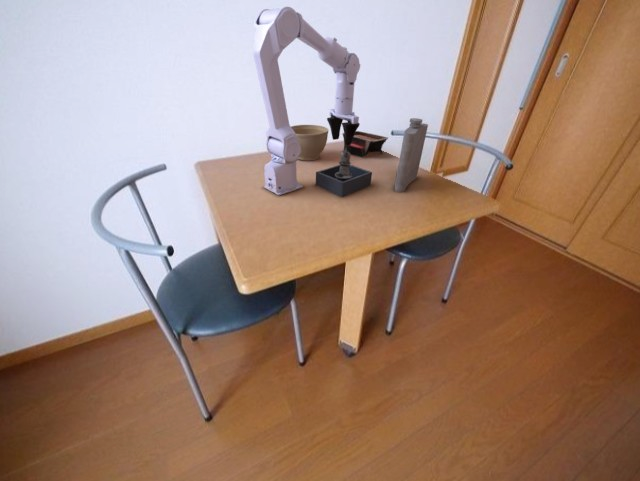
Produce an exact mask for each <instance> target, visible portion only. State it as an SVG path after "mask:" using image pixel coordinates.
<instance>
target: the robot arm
mask: <svg viewBox="0 0 640 481" xmlns="http://www.w3.org/2000/svg"><path fill="white" fill-rule="evenodd" d="M253 26H254V27H253V28H254V31H255V32H254V33H255V34H254V40H253V48H252V55H253V59H254V60H253V61H254V63H255V64H254V65H255V68H256V73H257V76H258V80H259V81H258V82H259V86H260V90H261V95H262V99H263V103H264V108H265V111H266V116H267V120H268V125H269V127H268V128H267V130H266V132H265V135H266V143H265V147H266V150H267V152H268V153H269V154H270V157H271V160H270V161H269V162H267V163H265V164H264V167H263V174H264V184H265V185H264V186H263V188H264V189H266V190H267V191H269V192H272V193H273V194H275V195H277V196H282V195H284V194H287V193H290V192H294V191H296V190H299V189H302V188H303V186H304V185H303V184H300V183H298V179H297V178H298V177H297V161H298V160H299V159H298V157H299V156H300V153H301V145H300V143H299V141H298V140H297V137H296V133H295V132H294V130H293V129H292V128H291V125H290V121H289V116H288V109H287V103H286V99H285V93H284V86H283V82H282V76H281V71H280V65H279V57H280V56H281V54H282V53H283V51H284V50H285V49H286V48H287V47H288V46H289V45H291V44H292V43H293V42H294V41H296V39H297V40H299V41H301V42H302V43H304V44H305V45H307V46H308V47H310V48H312V49H313V50H315V51H316V52H317V55H318V56H317V57H318V58H319V60H321V61H322V62H323V63H325V64H327V65H328V66H329V67H331V68H332V71H333V72H334V74H335V75H336V76H335V96H334V108H332V109H331V108H330V109H328V116H329V117H327V118H326V121H327V123H328V125H329V128H330V133H331V138H332V140H334V141H335V140H336V141H337V140H339V139H340V135H341V134H340V133H341V127H342V129H343V133H344V137H343V142H344V143H345V145H351V142H352V139H353V136H354V134H355V132H356V131H358V128H359V127H360V126H361V125H360V123H359V121H360V117H359V116H358V115H356V114H355V112H354V111H353V108H354V95H355V84H356V81H357V76H358V74H359V71H360V69H361V63H360V59H359V57H358V55H357V54H356V53H355V52H349V51H348V48H347V47H345V46H342V45H341V44H340V43H339V42H337V41H338V39H337V38H336V37H334V36H328V37H324V36H322V34H320V33H319V32H318V31H317V30H316V29H315V28H314V27H313V26H311V24H309V22H307V21H306V20H305V19H304V17H303V14H301V13H300V12H298V11H296V10H295V9H294V8H293V7H290V6H283V7H281V8H279V7H278V8H272V9H268V8H265V9H262V10H261V11H260V12H259V13H258V14H257V17H256V18H255V20H254V22H253ZM343 121H345V122H343ZM344 143H343V144H344Z"/></svg>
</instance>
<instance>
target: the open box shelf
mask: <svg viewBox="0 0 640 481" xmlns="http://www.w3.org/2000/svg"><path fill="white" fill-rule="evenodd" d="M339 170H340V164H337V165H333V166H330V167H327V168H324V169H322V170H318V171H315V186H317V187H318V188H320V189H322V190H325V191H327V192H329V193H332V194H333V195H336V196H338V197H341V198H344V197H346V196H348V195H351V194H354V193H356V192H358V191H361V190H363V189H366V188H367V187H370V186H371V185H372V178H373V172H372V171H371V170H367V169H364V168H362V167H359V166H356V165H353V164H350V165H349V171H350V173H352V174H353V177H352V178H351V179H349V180H346V181H340V180H338V179H336V176H335V173H337V172H339Z"/></svg>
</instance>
